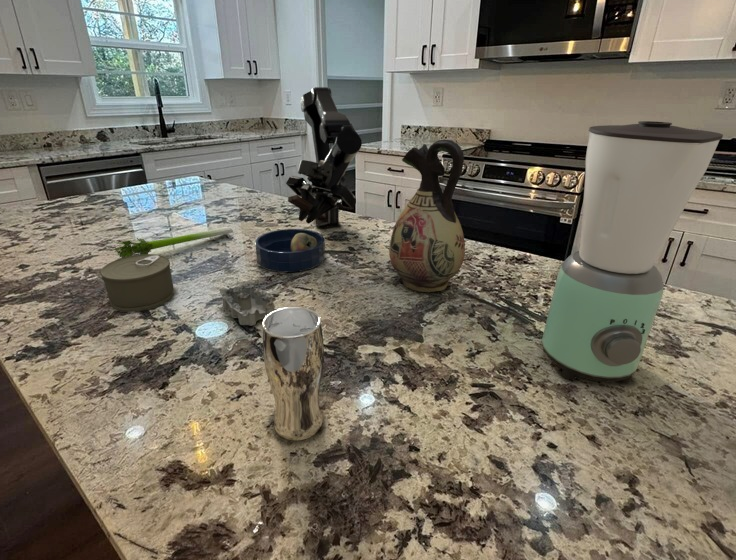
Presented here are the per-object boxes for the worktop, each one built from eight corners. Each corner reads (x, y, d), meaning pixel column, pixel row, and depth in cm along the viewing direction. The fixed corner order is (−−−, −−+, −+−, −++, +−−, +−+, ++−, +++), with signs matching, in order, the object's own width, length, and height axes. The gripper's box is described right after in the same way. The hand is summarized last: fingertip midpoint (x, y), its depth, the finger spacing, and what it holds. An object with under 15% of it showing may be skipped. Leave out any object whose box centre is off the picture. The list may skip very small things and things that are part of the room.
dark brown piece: (319, 213, 105) (286, 192, 95) (330, 210, 104) (298, 189, 93) (319, 226, 104) (285, 206, 94) (330, 223, 103) (297, 203, 92)
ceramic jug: (372, 284, 88) (376, 137, 76) (414, 263, 99) (424, 130, 86) (441, 312, 78) (459, 146, 65) (480, 285, 88) (502, 138, 76)
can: (94, 306, 80) (85, 273, 77) (143, 280, 90) (136, 250, 87) (143, 317, 76) (135, 283, 73) (188, 289, 86) (182, 258, 83)
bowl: (318, 244, 110) (317, 226, 108) (331, 269, 95) (330, 249, 93) (255, 250, 106) (253, 231, 104) (259, 276, 92) (257, 255, 90)
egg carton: (279, 317, 76) (278, 298, 74) (240, 330, 72) (237, 310, 70) (256, 294, 84) (254, 276, 82) (219, 305, 80) (216, 286, 78)
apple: (277, 241, 98) (287, 232, 93) (305, 235, 102) (316, 226, 98) (286, 265, 97) (297, 257, 92) (314, 258, 102) (325, 249, 97)
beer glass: (273, 404, 56) (263, 306, 49) (325, 401, 56) (322, 304, 50) (267, 445, 49) (256, 339, 43) (326, 442, 50) (323, 336, 44)
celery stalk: (237, 243, 115) (123, 268, 94) (223, 240, 119) (111, 264, 98) (234, 221, 113) (117, 241, 92) (220, 219, 118) (106, 238, 96)
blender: (662, 401, 56) (773, 130, 42) (561, 396, 57) (635, 129, 43) (597, 326, 74) (659, 116, 59) (520, 323, 74) (562, 115, 60)
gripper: (289, 142, 101) (257, 195, 97) (348, 150, 90) (313, 211, 87) (313, 170, 109) (284, 220, 106) (369, 180, 98) (339, 236, 95)
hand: (303, 221), depth 98 cm, fingers closed on dark brown piece, 2 cm apart
